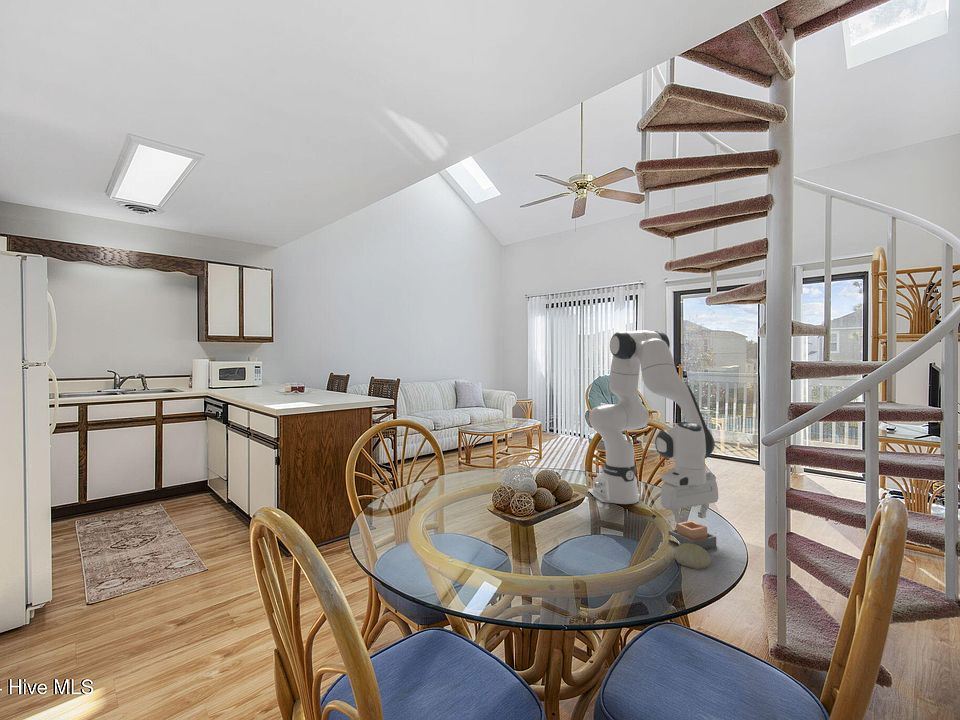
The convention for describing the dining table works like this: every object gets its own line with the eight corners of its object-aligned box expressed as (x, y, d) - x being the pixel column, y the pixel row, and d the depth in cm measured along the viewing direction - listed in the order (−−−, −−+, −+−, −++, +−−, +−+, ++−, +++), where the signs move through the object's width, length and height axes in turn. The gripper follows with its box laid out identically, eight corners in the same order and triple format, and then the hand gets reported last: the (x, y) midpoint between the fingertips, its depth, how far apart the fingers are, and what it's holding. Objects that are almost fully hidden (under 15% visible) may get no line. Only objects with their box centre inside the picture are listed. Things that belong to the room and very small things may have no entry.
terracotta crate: (677, 539, 138) (676, 523, 138) (691, 536, 140) (691, 520, 140) (692, 546, 133) (692, 530, 133) (707, 543, 135) (707, 527, 135)
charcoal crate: (668, 539, 139) (668, 530, 139) (691, 535, 143) (691, 525, 143) (693, 551, 130) (692, 541, 130) (716, 546, 134) (716, 536, 134)
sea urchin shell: (699, 568, 116) (680, 539, 121) (681, 580, 121) (663, 552, 126) (721, 560, 121) (702, 532, 126) (703, 572, 125) (685, 545, 130)
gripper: (706, 469, 143) (706, 511, 144) (657, 476, 136) (657, 520, 136) (723, 474, 138) (723, 518, 138) (672, 481, 130) (673, 528, 130)
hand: (690, 519), depth 137 cm, fingers open, 8 cm apart
